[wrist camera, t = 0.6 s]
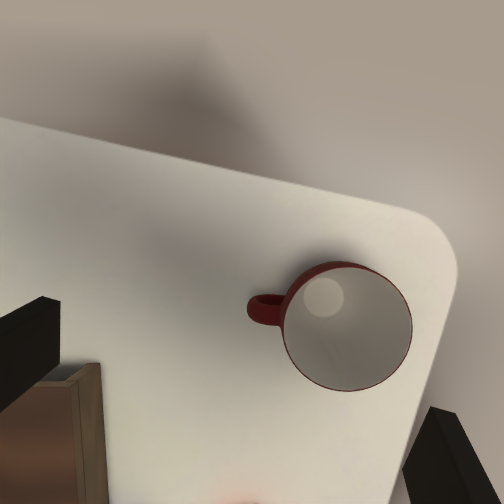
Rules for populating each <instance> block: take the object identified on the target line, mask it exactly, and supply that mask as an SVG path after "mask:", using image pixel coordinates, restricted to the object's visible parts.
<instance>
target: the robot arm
mask: <svg viewBox="0 0 504 504" xmlns="http://www.w3.org/2000/svg"><path fill="white" fill-rule="evenodd" d="M60 303H61V301H58V300H54V299H51V298H47V297H44V296H41V297H39V298H37V299H35V300H33V301H31V302H30V303H28V304H26V305H24V306H22V307H20V308H18V309H16V310H14V311H13V312H11V313H9V314H7V315H5V316H3V317H1V318H0V413H1V412H2V411H3V410H4V409H6V408H7V407H8V406H9V405H10V404H12V403H13V402H14V401H15V400H17V399H18V398H19V397H20V396H21V395H23V394H24V393H25V392H26V391H27V390H29V389H30V388H31V387H32V386H33V385H35V384H36V383H37V382H38V381H40V380H41V379H42V378H43V377H44V376H46V375H47V374H48V373H49V372H50V371H52V370H53V369H54V368H55V367H56V366H58V365H59V364H60ZM402 471H403V475H404V479H405V483H406V487H407V491H408V495H409V498H410V502H411V504H501V502H500V500H499V498H498V496H497V494H496V492H495V490H494V488H493V486H492V484H491V482H490V480H489V478H488V476H487V474H486V472H485V471H484V469H483V467H482V465H481V463H480V461H479V459H478V457H477V455H476V453H475V451H474V449H473V447H472V445H471V443H470V441H469V439H468V437H467V435H466V433H465V431H464V429H463V427H462V425H461V423H460V421H459V419H458V417H457V416H456V413H452V412H449V411H445V410H442V409H438V408H435V407H430V408H429V411H428V413H427V415H426V417H425V420H424V422H423V424H422V426H421V428H420V431H419V433H418V435H417V437H416V440H415V442H414V444H413V446H412V448H411V451H410V453H409V456H408V458H407V459H406V462H405V464H404V467H403V468H402Z"/></svg>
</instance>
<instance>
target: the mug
mask: <svg viewBox="0 0 504 504" xmlns="http://www.w3.org/2000/svg"><path fill="white" fill-rule="evenodd" d="M247 313H248V315H249V317H250V318H251V319H252V320H253V321H255V322H257V323H260V324H264V325H272V326H279V327H280V328H281V331H282V336H283V341H284V345H285V348H286V351H287V353H288V355H289V357H290V359H291V361H292V362H293V364H294V365H295V367H296V368H297V369H298V370H299V371H300V372H301V373H302V374H303V375H304V376H305V377H306V378H308V379H309V380H310V381H312V382H314V383H315V384H317V385H319V386H322V387H324V388H327V389H331V390H335V391H343V392H352V391H360V390H364V389H368V388H371V387H373V386H376V385H377V384H379V383H381V382H383V381H384V380H386V379H387V378H388V377H390V376H391V375H392V374H393V373H394V372H395V371H396V370H397V369H398V368H399V366H400V365H401V364H402V362H403V361H404V359H405V357H406V355H407V353H408V351H409V348H410V344H411V340H412V332H413V326H412V318H411V313H410V310H409V307H408V305H407V302H406V300H405V299H404V297H403V295H402V294H401V292H400V291H399V290H398V289H397V287H396V286H395V285H394V284H393V283H392V282H390V281H389V280H388V279H387V278H385V277H384V276H382V275H381V274H379V273H377V272H375V271H373V270H371V269H369V268H367V267H365V266H362V265H359V264H356V263H351V262H343V261H335V262H327V263H323V264H320V265H317V266H315V267H312V268H310V269H309V270H307V271H306V272H304V273H303V274H302V275H300V276H299V277H298V278H297V279H296V280H295V282H294V283H293V284H292V285H291V287H290V288H289V290H288V292H287V294H286V295H273V294H264V295H257V296H254V297H252V298H251V299H250V300H249V302H248V304H247Z"/></svg>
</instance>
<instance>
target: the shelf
mask: <svg viewBox="0 0 504 504" xmlns="http://www.w3.org/2000/svg"><path fill="white" fill-rule="evenodd" d="M0 504H109V500H108V484H107V468H106V452H105V436H104V421H103V405H102V389H101V373H100V363H88V364H86V365H85V366H84V367H82V368H81V369H80V370H78V371H77V372H76V373H74V374H73V375H72V376H70V377H69V378H68V379H66V380H65V381H38V382H37V383H36V384H35V385H33V386H32V387H31V388H30V389H29V390H27V391H26V392H25V393H24V394H23V395H21V396H20V397H19V398H18V399H17V400H15V401H14V402H13V403H12V404H10V405H9V406H8V407H7V408H6V409H4V410H3V411H2V412H1V413H0Z"/></svg>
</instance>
